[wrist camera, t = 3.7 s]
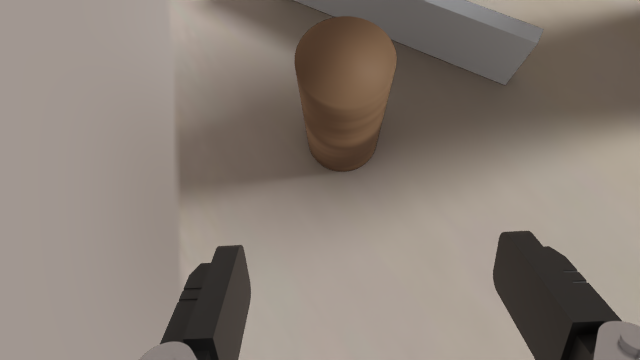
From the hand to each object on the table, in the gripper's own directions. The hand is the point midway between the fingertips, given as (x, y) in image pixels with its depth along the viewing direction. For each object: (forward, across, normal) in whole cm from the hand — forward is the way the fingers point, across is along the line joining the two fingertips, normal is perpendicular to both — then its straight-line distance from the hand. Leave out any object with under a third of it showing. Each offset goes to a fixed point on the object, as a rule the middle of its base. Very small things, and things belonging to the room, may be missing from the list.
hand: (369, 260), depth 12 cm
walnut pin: (+17, 0, +3) cm, 17 cm away
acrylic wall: (+24, -4, -4) cm, 24 cm away
